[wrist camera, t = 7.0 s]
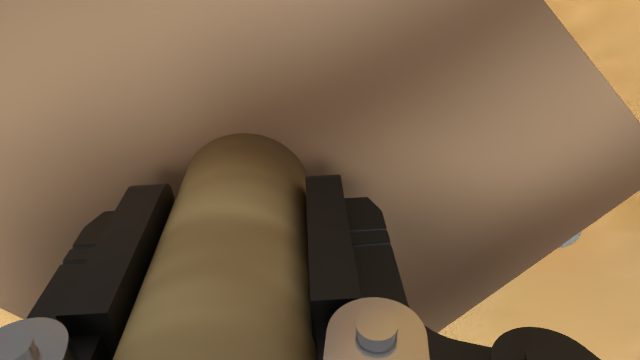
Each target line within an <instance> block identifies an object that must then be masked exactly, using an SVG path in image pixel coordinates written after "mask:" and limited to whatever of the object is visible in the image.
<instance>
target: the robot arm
mask: <svg viewBox="0 0 640 360" xmlns="http://www.w3.org/2000/svg"><path fill="white" fill-rule="evenodd" d="M305 183H306V207H307V232H308V257H309V282H310V305H311V321H312V336H313V339H314V341H315V344H316V349H317V356H318V360H600V359H599V358H598V357H596V356H595V355H594V354H593V353H591V352H590V351H589V350H588V349H586V348H585V347H584V346H582V345H581V344H579V343H578V342H577V341H575V340H573V339H571V338H569V337H568V336H565V335H563V334H561V333H558V332H555V331H552V330H549V329H544V328H538V327H521V328H516V329H512V330H510V331H507V332H505V333H504V334H502V335H501V336H500V337H499V338H498V339H497V340H496V341H495V343H494V345H493V346H492V348H491V347H486V346H482V345H477V344H472V343H467V342H462V341H458V340H454V339H450V338H447V337H445V336H442V335H440V334H438V333H436V332H434V331H432V330H431V329H429V328H428V327H426V326H425V325H424V324H423V322H422V321H421V319H420V318H419V316H418V315H417V314H416V313H415V312H414V311H412V310H411V309H410V307H409V305H408V302H407V299H406V295H405V292H404V288H403V284H402V281H401V277H400V274H399V270H398V267H397V263H396V259H395V256H394V252H393V249H392V246H391V242H390V238H389V234H388V231H387V227H386V224H385V220H384V216H383V213H382V210H381V209H380V208H379V207H377V206H376V205H375V204H374V203H373V202H372V201H371V200H370V199H369V198H368V197H357V198H344V193H343V187H342V181H341V175H340V174H338V175H320V176H305ZM174 202H175V198H174V194H173V191H172V188H171V186H170V185H169V184H151V185H133V186H130V187H128V189H127V190H126V192H125V194H124V196H123V197H122V199H121V201H120V203H119V204H118V206H117V208H116V210H115V211H104V212H103V213H101V214H100V215H99V216H98V217H96V218H95V219H94V220H93V221H91V222H90V223H89V224H87V225H86V226H85V227H84V228H83V229H82V231H81V233H80V234H79V236H78V237H77V239H76V241H75V242H74V244H73V245H72V246H73V248H72V249H70V250H69V252H68V253H67V255H66V256H65V258H64V259H63V265H60V266H59V267H58V269H57V271H56V272H55V274H54V275H53V277H52V278H51V280H50V282H49V283H48V285H47V286H46V288H45V289H44V291H43V293H42V294H41V296H40V297H39V299H38V300H37V302H36V304H35V305H34V307H33V308H32V310H31V312H30V313H29V315H28V316H27V318H26V319H23V320H19V321H16V322H13V323H10V324H8V325H5V326H3V327H1V328H0V360H113V357H114V355H115V352H116V350H117V347H118V345H119V342H120V339H121V337H122V334H123V332H124V329H125V327H126V324H127V322H128V319H129V317H130V314H131V311H132V309H133V306H134V304H135V301H136V299H137V296H138V294H139V291H140V288H141V286H142V283H143V281H144V278H145V276H146V273H147V271H148V268H149V265H150V263H151V260H152V258H153V255H154V253H155V250H156V248H157V245H158V242H159V240H160V237H161V235H162V232H163V230H164V227H165V225H166V222H167V219H168V217H169V214H170V212H171V209H172V207H173V204H174Z"/></svg>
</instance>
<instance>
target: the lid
mask: <svg viewBox="0 0 640 360" xmlns="http://www.w3.org/2000/svg"><path fill="white" fill-rule="evenodd" d="M338 174H340V175H341V181H342V187H343V193H344V198H357V197H368V198H369V199H370V200H371V201H372V202H373V203H374V204H375V205H376V206H377V207H379V208H380V209H381V210H382V213H383V216H384V220H385V224H386V227H387V231H388V234H389V238H390V242H391V246H392V249H393V252H394V256H395V259H396V263H397V267H398V270H399V274H400V277H401V281H402V284H403V288H404V292H405V295H406V299H407V302H408V305H409V307H410V309H411V310H412V311H414V312H415V313H416V314H417V315H418V316H419V318H420V319H421V321H422V322H423V324H424V325H425V326H426V327H428V328H429V329H431V330H432V331H434V332H436V333H438V332H439V331H440V330H442V329H443V328H445V327H446V326H447V325H449V324H450V323H452V322H453V321H455V320H456V319H457V318H459V317H460V316H462V315H463V314H464V313H466V312H467V311H469V310H470V309H472V308H473V307H474V306H476V305H477V304H479V303H480V302H481V301H483V300H484V299H486V298H487V297H489V296H490V295H491V294H493V293H494V292H496V291H497V290H498V289H500V288H501V287H503V286H504V285H506V284H507V283H508V282H510V281H511V280H513V279H514V278H516V277H517V276H518V275H520V274H521V273H523V272H524V271H525V270H527V269H528V268H530V267H531V266H533V265H534V264H535V263H537V262H538V261H540V260H541V259H542V258H544V257H545V256H547V255H548V254H550V253H551V252H552V251H554V250H555V249H557V248H558V247H559V246H561V245H562V244H564V243H565V242H567V241H568V240H569V239H571V238H572V237H574V236H575V235H576V234H578V233H579V232H581V231H582V230H584V229H585V228H586V227H588V226H589V225H591V224H592V223H593V222H595V221H596V220H598V219H599V218H601V217H602V216H603V215H605V214H606V213H608V212H609V211H610V210H612V209H613V208H615V207H616V206H618V205H619V204H620V203H622V202H623V201H625V200H626V199H628V198H629V197H630V196H632V195H633V194H635V193H636V192H637V191H639V190H640V122H639V121H638V120H637V118H636V117H635V116H634V115H633V113H632V112H631V111H630V110H629V108H628V107H627V106H626V104H625V103H624V102H623V101H622V99H621V98H620V97H619V96H618V94H617V93H616V92H615V90H614V89H613V88H612V87H611V85H610V84H609V83H608V82H607V80H606V79H605V78H604V76H603V75H602V74H601V73H600V71H599V70H598V69H597V68H596V66H595V65H594V64H593V62H592V61H591V60H590V59H589V57H588V56H587V55H586V54H585V52H584V51H583V50H582V48H581V47H580V46H579V45H578V43H577V42H576V41H575V40H574V38H573V37H572V36H571V34H570V33H569V32H568V31H567V29H566V28H565V27H564V26H563V24H562V23H561V22H560V20H559V19H558V18H557V17H556V15H555V14H554V13H553V12H552V10H551V9H550V8H549V7H548V5H547V4H546V3H545V1H544V0H0V308H2V309H4V310H6V311H8V312H10V313H12V314H14V315H16V316H18V317H20V318H22V319H26V318H27V316H28V315H29V313H30V312H31V310H32V308H33V307H34V305H35V304H36V302H37V300H38V299H39V297H40V296H41V294H42V293H43V291H44V289H45V288H46V286H47V285H48V283H49V282H50V280H51V278H52V277H53V275H54V274H55V272H56V271H57V269H58V267H59V266H60V265H63V259H64V258H65V256H66V255H67V253H68V252H69V250H70V249H72V248H73V246H72V245H73V244H74V242H75V241H76V239H77V237H78V236H79V234H80V233H81V231H82V229H83V228H84V227H85V226H86V225H87V224H89V223H90V222H91V221H93V220H94V219H95V218H96V217H98V216H99V215H100V214H101V213H103V212H104V211H115V210H116V208H117V206H118V204H119V203H120V201H121V199H122V197H123V196H124V194H125V192H126V190H127V189H128V187H130V186H133V185H151V184H169V185H170V186H171V188H172V191H173V194H174V198H175V202H174V204H173V207H172V209H171V212H170V214H169V217H168V219H167V222H166V225H165V227H164V230H163V232H162V235H161V237H160V240H159V242H158V245H157V248H156V250H155V253H154V255H153V258H152V260H151V263H150V265H149V268H148V271H147V273H146V276H145V278H144V281H143V283H142V286H141V288H140V291H139V294H138V296H137V299H136V301H135V304H134V306H133V309H132V311H131V314H130V317H129V319H128V322H127V324H126V327H125V329H124V332H123V334H122V337H121V339H120V342H119V345H118V347H117V350H116V352H115V355H114V357H113V360H318V356H317V349H316V344H315V341H314V339H313V336H312V321H311V305H310V282H309V257H308V232H307V207H306V183H305V176H320V175H338Z"/></svg>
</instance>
